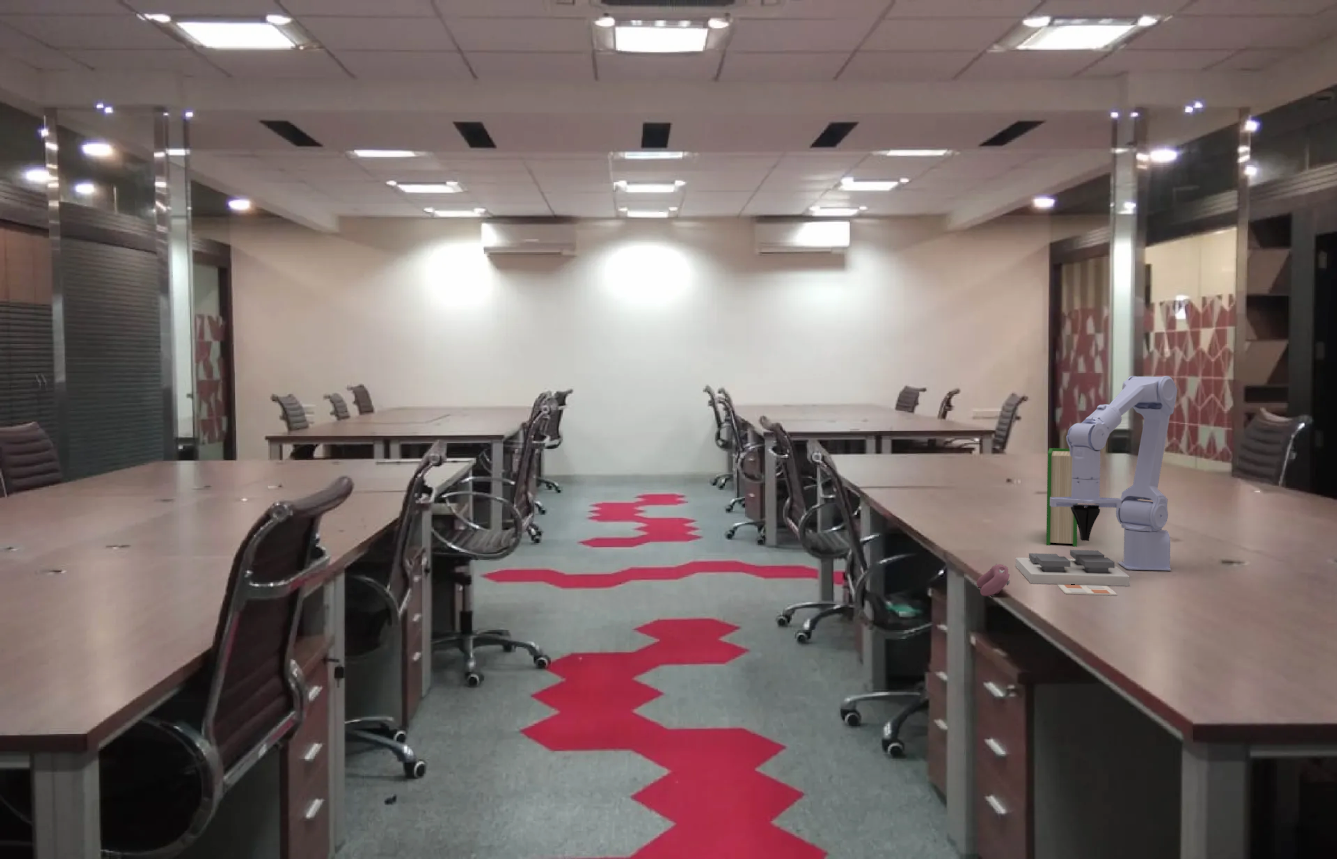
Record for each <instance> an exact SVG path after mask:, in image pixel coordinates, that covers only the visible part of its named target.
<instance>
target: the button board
mask: <svg viewBox="0 0 1337 859" xmlns="http://www.w3.org/2000/svg"><path fill="white" fill-rule="evenodd" d="M1067 559H1068V560H1069V561H1071V562H1070V567H1065V570H1064V572H1043V571H1042V566H1040V565H1039V564H1035V563H1033V562H1032V561H1031V560H1030V559H1029V557H1015V567H1016V569H1018V570H1019V572H1020V573H1021V574H1022V575H1023V576H1024V577H1025V579H1026V580H1027V581H1028V582H1029V583H1030V584H1033V585H1035V584H1037V585H1038V584H1039V585H1041V584H1042V585H1043V584H1044V585H1071V584H1075V585H1098V586H1108V587H1109V586H1114V587H1115V586H1116V587H1131V576H1129V575H1128V574H1127V573H1126V572H1125V571H1123V570H1121V569H1120V568H1119V567H1117V565H1115V568H1108V573H1086V572H1085V571H1084V570H1085V567H1084V566H1083V565H1077V564H1075V559H1074V558H1067Z"/></svg>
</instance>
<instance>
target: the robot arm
mask: <svg viewBox="0 0 1337 859" xmlns="http://www.w3.org/2000/svg"><path fill="white" fill-rule="evenodd" d="M1177 394H1178V388H1177V386H1176V383H1175V381H1174V379H1173V378H1172V377H1171V376H1169V375H1164V376H1136V375H1129V376H1128V378H1126V380H1124V381H1123V382H1122V387H1121V391H1120V392H1119V393H1118V394H1117V395H1116V396H1115V397H1114V399H1113V400H1112V401H1111V402H1110V403H1109V404H1099V405H1097V407H1096V409H1095V410H1094V411H1093V412H1092V413H1091V414H1089V416H1087V417H1085V419H1084V420H1083V421H1082V422H1077V423H1074V424H1073V425H1072V426H1070V428H1069V429H1068V430H1067V435H1066V437H1065V438H1066V443H1067V446H1068V449H1070V456H1072V496H1071V497H1050V506H1051V507H1071V510H1072V513H1073V515H1074V517H1075V519H1076V522H1077V529H1078V531H1079V532H1078V533H1079V537H1080V541H1082V542H1083V541H1084V542H1087V541H1088V542H1089V541H1090V538H1091V537H1090V536H1091V532H1092V530H1093V527H1094V524H1095V522H1096V520H1097V519H1098V517H1099V515H1100V513H1101V508H1116V509H1115V516H1116V519H1117V521H1118V524H1120V527H1121V528H1122V529H1123V530H1124V531H1123V535H1124V536H1123V560H1122V561H1121V560H1120V561H1117V564H1119V565H1120V566H1121V567H1123V568H1125V569H1126V570H1130V571H1132V570H1133V571H1135V570H1136V571H1137V570H1138V571H1139V570H1140V571H1171V570H1172V569H1171V536H1170V533H1169V531H1168V530H1166V529H1163V528H1164V527H1165V525H1166V524H1167V522H1168V519H1169V518H1168V517H1169V512H1168V500H1169V499H1168V497H1166V495H1165V494H1164V493H1162V492H1161V491H1160V490H1159V482H1160V476H1161V471H1162V470H1161V469H1162V464H1163V459H1164V453H1165V447H1166V442H1167V436H1168V430H1169V424H1170V418H1171V415H1173V414H1174V412H1175V405H1176V402H1177V400H1176V399H1177ZM1131 409H1134V411H1135V413H1136V414H1137V413H1138V414H1140V415H1141V416H1142V417H1143V424H1142V432H1141V437H1140V441H1139V442H1140V443H1139V448H1138V453H1137V454H1138V455H1137V458H1136V459H1137V460H1136V464H1135V472H1134V477H1133V484H1132V485H1131V486H1130V487H1128V488H1126V489H1124V490H1123V491H1122V492H1121V496H1120V497H1119V498H1116V497H1101V496H1100V494H1101V493H1100V491H1101V490H1100V489H1101V488H1100V487H1101V486H1100V485H1101V450H1102V449H1104V448H1105V446H1106V444H1107V441H1108V438H1109V437H1110V434H1111V433H1112V432H1114V430H1115V429H1116V428H1118V426H1119V425H1121V423H1122V416H1123V415H1125V413H1127V412H1128V411H1130V410H1131ZM1077 503H1078V504H1077Z"/></svg>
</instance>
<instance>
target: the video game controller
mask: <svg viewBox="0 0 1337 859" xmlns="http://www.w3.org/2000/svg"><path fill="white" fill-rule="evenodd" d="M1009 579H1010V573H1009V567H1007V566H1006V565H1004V564H1000V563H999V564H998V563H995V565H993V566H992V567H991V568H990V569H989V570H988V571H986V572H985V573H984V574H982V575H981V576H980V577H978V579H977V580H976V586H977V587H978V588H980V590H979V592H980V595H981V596H982V597H990V596H993V595H998V594H1000V592H1001V591H1002V590H1003V589H1004V588H1005V586H1009V585H1010V583H1011V580H1009Z"/></svg>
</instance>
